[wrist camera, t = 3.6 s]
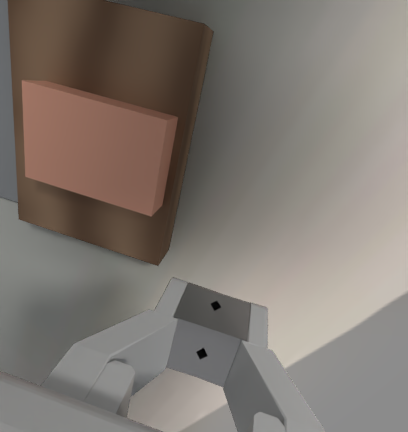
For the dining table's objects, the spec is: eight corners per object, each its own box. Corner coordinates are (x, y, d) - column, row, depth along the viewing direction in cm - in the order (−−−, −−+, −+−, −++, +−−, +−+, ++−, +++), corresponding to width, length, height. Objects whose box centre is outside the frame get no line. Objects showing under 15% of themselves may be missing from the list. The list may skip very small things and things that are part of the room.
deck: (213, 31, 18) (204, 23, 16) (168, 249, 25) (157, 265, 23) (37, -11, 20) (6, -23, 17) (40, 208, 27) (18, 219, 24)
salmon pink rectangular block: (178, 117, 18) (167, 120, 16) (162, 205, 21) (151, 216, 19) (45, 80, 19) (21, 80, 18) (46, 169, 22) (25, 176, 20)
